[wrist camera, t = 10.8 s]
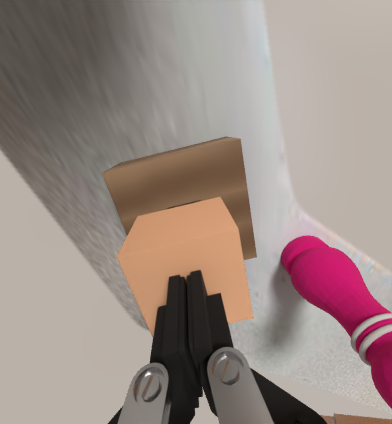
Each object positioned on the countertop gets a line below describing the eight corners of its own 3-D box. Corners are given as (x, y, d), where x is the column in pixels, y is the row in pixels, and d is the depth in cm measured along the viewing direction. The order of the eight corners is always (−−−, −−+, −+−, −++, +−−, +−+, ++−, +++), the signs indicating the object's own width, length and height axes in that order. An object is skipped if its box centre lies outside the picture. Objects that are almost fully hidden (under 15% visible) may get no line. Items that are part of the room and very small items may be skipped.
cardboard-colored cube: (137, 216, 14) (116, 257, 10) (220, 196, 14) (238, 228, 10) (161, 281, 17) (153, 339, 12) (233, 265, 17) (253, 317, 12)
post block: (121, 162, 23) (101, 173, 17) (226, 136, 23) (240, 139, 17) (153, 251, 27) (146, 282, 22) (241, 230, 27) (256, 257, 22)
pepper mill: (299, 282, 31) (472, 509, 13) (267, 259, 29) (415, 486, 11) (337, 249, 29) (607, 458, 11) (305, 222, 27) (567, 419, 9)
